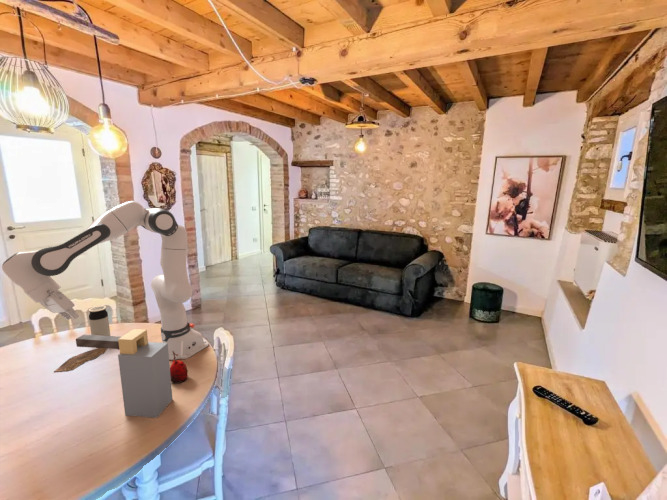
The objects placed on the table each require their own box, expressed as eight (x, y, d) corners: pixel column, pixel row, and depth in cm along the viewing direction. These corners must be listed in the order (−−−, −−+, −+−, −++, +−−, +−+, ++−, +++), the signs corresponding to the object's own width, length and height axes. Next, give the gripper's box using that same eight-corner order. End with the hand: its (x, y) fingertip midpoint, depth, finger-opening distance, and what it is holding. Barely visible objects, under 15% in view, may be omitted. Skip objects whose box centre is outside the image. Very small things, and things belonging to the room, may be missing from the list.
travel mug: (112, 340, 171) (108, 308, 167) (94, 345, 165) (90, 312, 161) (108, 335, 176) (104, 304, 172) (90, 340, 170) (86, 308, 166)
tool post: (125, 415, 117) (116, 340, 111) (143, 397, 126) (135, 327, 120) (157, 417, 116) (149, 342, 110) (172, 399, 126) (166, 329, 120)
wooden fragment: (63, 375, 140) (63, 373, 139) (46, 370, 143) (45, 368, 143) (118, 347, 164) (118, 345, 164) (102, 344, 167) (102, 342, 167)
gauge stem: (76, 346, 116) (75, 339, 115) (84, 342, 119) (83, 334, 119) (129, 349, 115) (129, 342, 114) (136, 345, 118) (135, 337, 118)
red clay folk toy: (191, 376, 141) (189, 345, 138) (180, 386, 134) (178, 353, 131) (177, 373, 143) (174, 342, 139) (165, 383, 136) (162, 350, 133)
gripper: (60, 283, 116) (89, 311, 122) (48, 288, 129) (74, 313, 134) (42, 295, 112) (72, 323, 117) (31, 299, 125) (58, 324, 130)
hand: (73, 318), depth 126 cm, fingers open, 8 cm apart
